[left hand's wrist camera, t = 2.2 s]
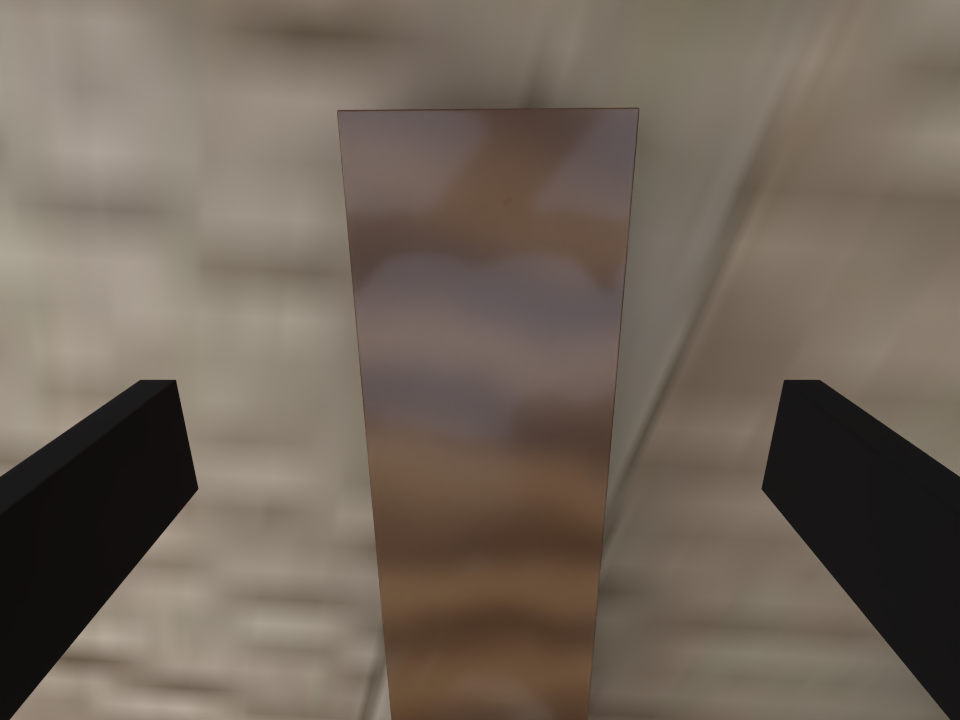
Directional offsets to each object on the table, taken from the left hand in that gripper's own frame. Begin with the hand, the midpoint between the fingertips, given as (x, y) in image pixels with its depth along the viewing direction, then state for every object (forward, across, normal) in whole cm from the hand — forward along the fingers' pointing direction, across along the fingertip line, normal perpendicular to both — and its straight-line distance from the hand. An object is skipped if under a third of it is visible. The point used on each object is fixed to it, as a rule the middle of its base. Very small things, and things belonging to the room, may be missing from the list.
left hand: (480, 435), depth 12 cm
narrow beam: (+16, 0, -21) cm, 26 cm away
